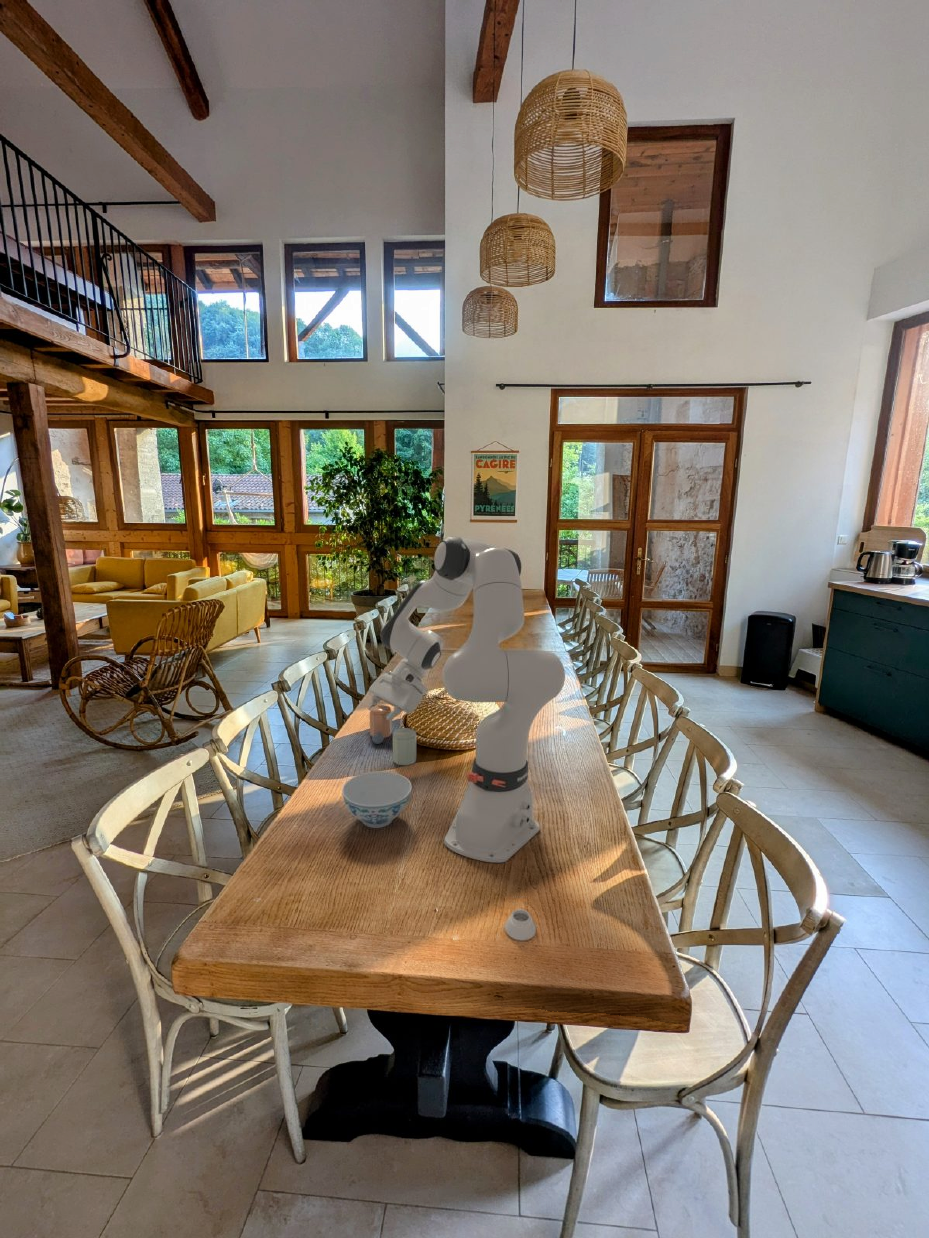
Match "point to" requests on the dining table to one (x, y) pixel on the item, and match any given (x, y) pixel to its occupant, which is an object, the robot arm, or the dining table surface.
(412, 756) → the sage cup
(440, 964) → the dining table surface
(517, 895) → the dining table surface
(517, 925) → the lidless jar
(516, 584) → the robot arm
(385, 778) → the chinaware
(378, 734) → the marble
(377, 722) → the pink clay canister
